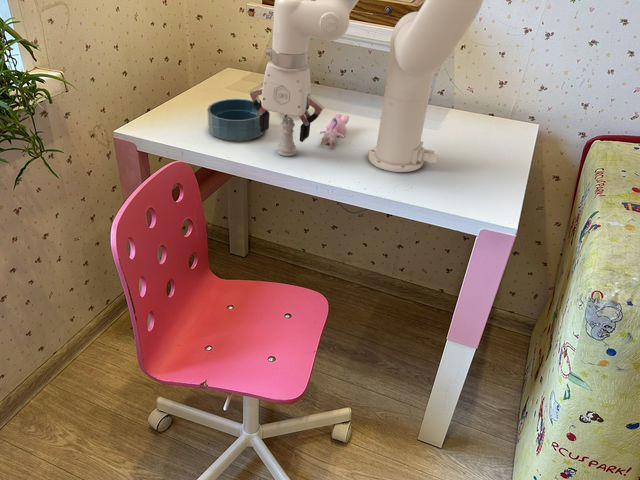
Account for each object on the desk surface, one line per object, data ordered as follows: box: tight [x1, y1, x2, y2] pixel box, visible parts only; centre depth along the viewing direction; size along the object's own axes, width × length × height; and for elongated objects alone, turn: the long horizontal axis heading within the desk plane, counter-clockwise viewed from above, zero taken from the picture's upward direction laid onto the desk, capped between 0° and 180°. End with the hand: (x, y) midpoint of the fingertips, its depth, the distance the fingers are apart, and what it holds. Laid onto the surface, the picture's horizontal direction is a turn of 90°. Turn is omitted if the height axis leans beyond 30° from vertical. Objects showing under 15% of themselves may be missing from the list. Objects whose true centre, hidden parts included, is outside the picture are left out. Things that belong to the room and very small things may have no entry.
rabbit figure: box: [319, 113, 350, 149], centre depth 137 cm, size 6×6×15 cm
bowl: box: [206, 98, 265, 142], centre depth 138 cm, size 14×14×6 cm
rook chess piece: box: [276, 117, 297, 158], centre depth 128 cm, size 4×4×8 cm
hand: (283, 134), depth 128 cm, fingers open, 9 cm apart
